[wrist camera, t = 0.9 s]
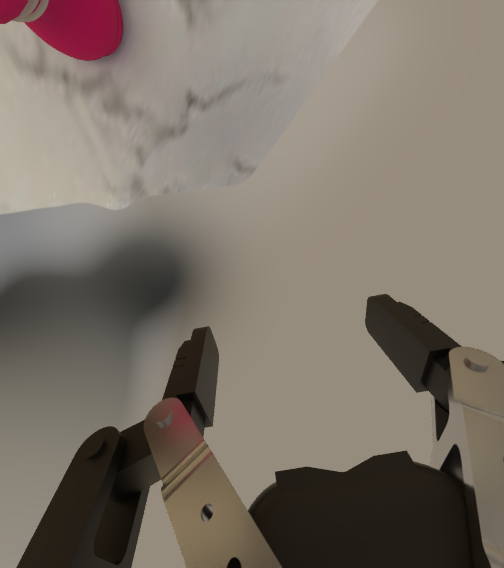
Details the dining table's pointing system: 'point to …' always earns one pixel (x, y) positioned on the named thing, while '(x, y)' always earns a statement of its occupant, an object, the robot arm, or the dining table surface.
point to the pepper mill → (70, 24)
